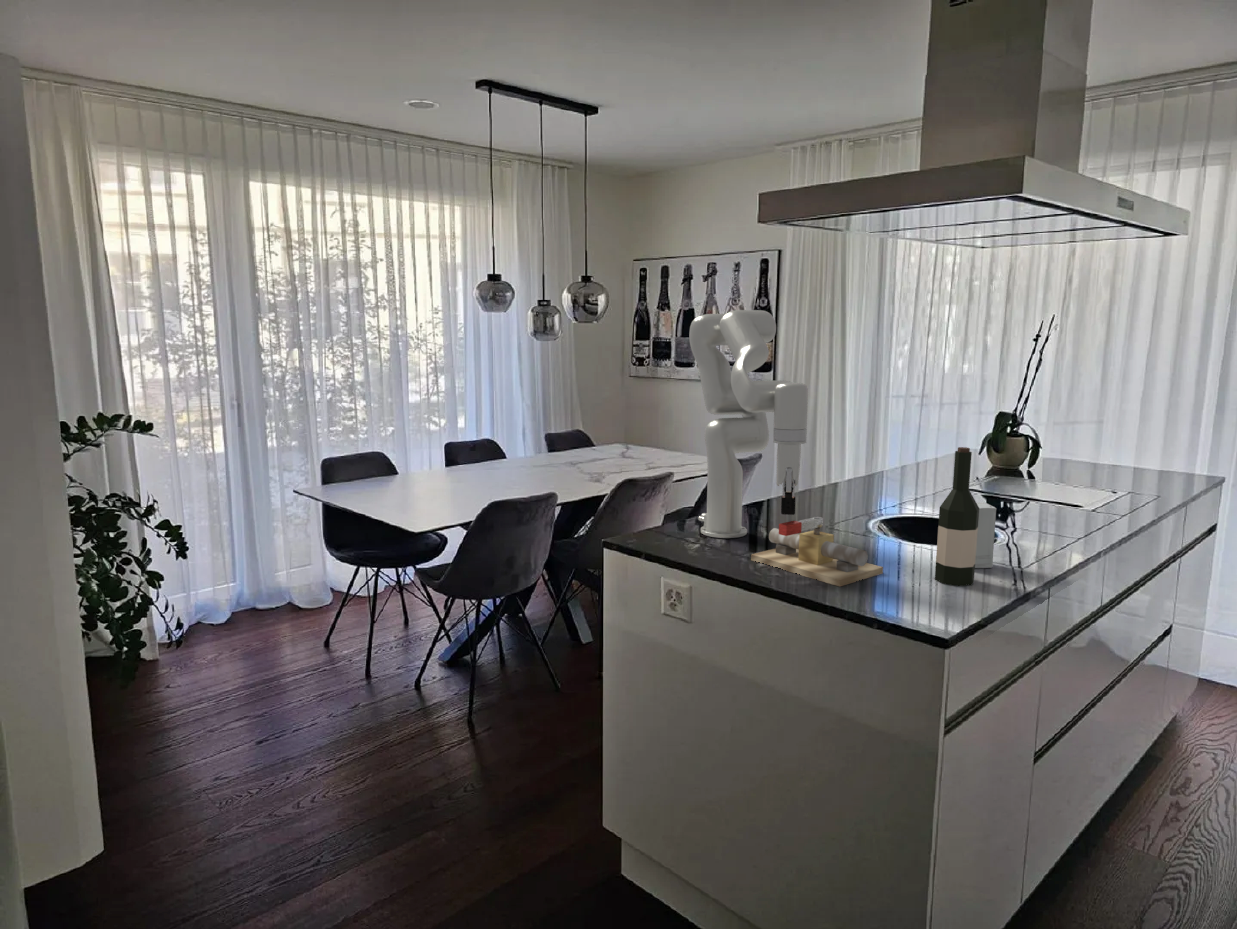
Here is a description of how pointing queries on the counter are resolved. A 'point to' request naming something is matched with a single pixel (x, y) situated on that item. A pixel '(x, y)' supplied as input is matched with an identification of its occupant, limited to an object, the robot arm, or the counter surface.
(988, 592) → the counter surface
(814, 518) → the valve lever
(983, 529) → the skincare box
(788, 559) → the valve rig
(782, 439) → the robot arm
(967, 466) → the wine bottle
